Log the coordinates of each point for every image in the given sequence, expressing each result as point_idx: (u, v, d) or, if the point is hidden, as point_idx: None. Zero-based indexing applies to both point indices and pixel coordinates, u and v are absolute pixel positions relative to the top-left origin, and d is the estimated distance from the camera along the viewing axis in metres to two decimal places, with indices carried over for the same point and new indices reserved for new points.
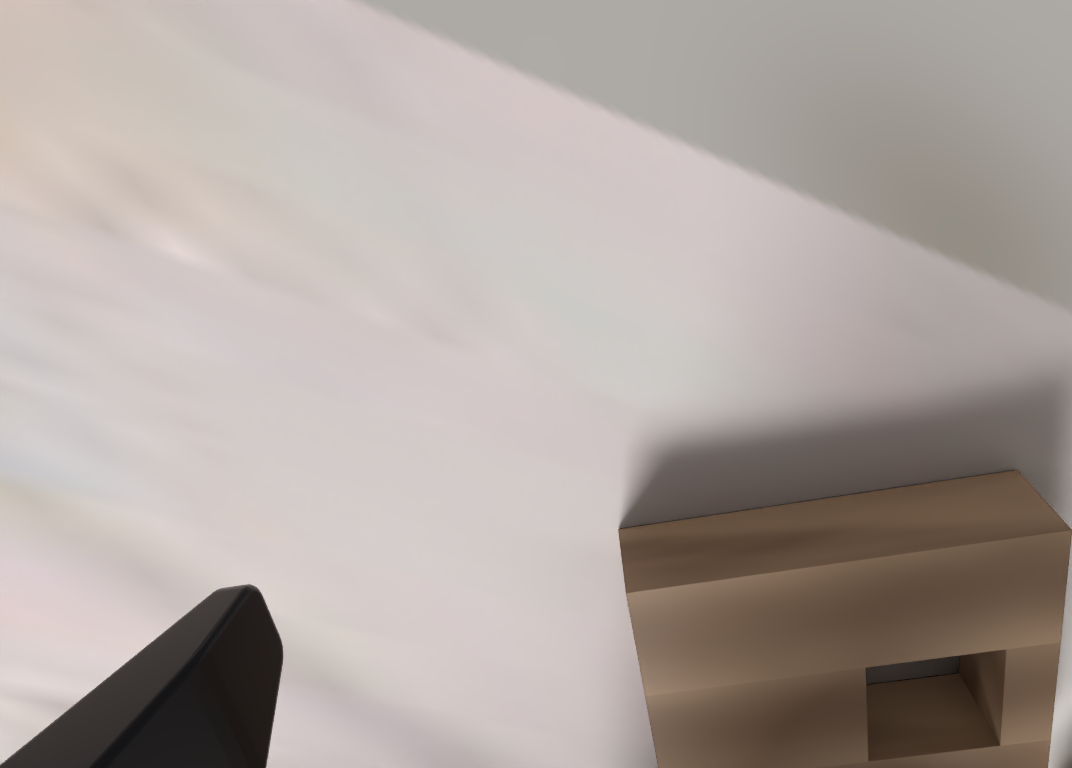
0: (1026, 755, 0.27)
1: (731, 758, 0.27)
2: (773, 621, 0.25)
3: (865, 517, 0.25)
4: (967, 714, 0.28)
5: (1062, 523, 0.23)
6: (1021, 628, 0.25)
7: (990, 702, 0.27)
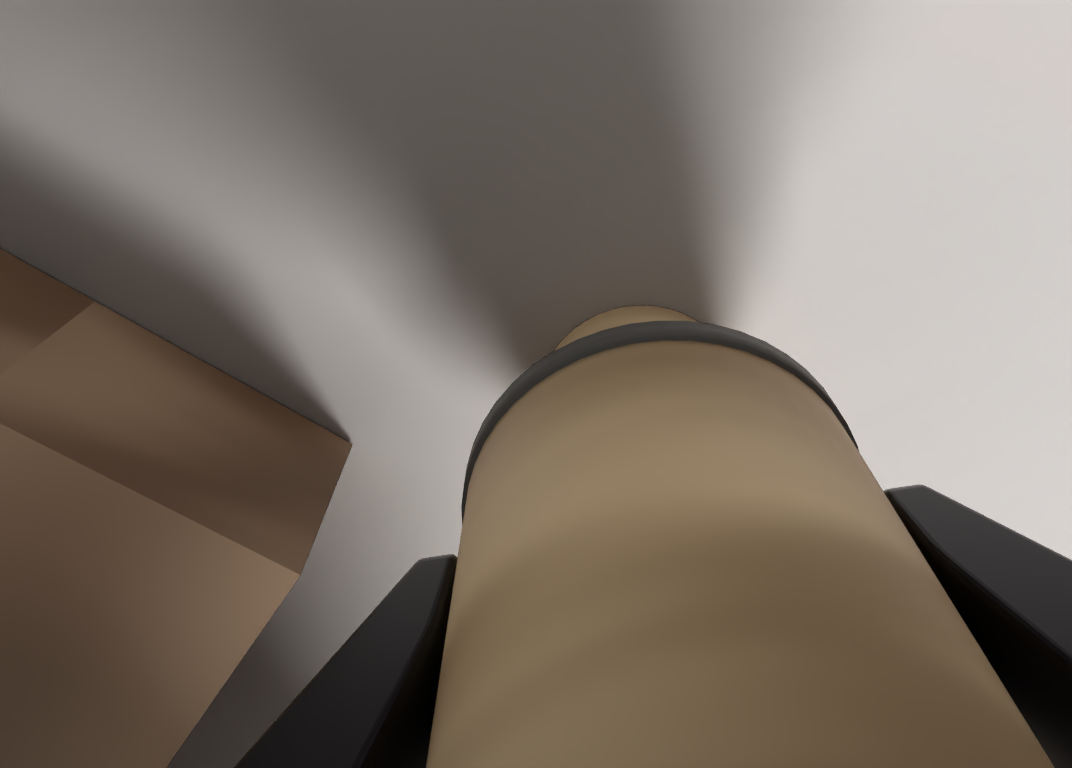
0: None
1: None
2: None
3: None
4: None
5: None
6: None
7: None
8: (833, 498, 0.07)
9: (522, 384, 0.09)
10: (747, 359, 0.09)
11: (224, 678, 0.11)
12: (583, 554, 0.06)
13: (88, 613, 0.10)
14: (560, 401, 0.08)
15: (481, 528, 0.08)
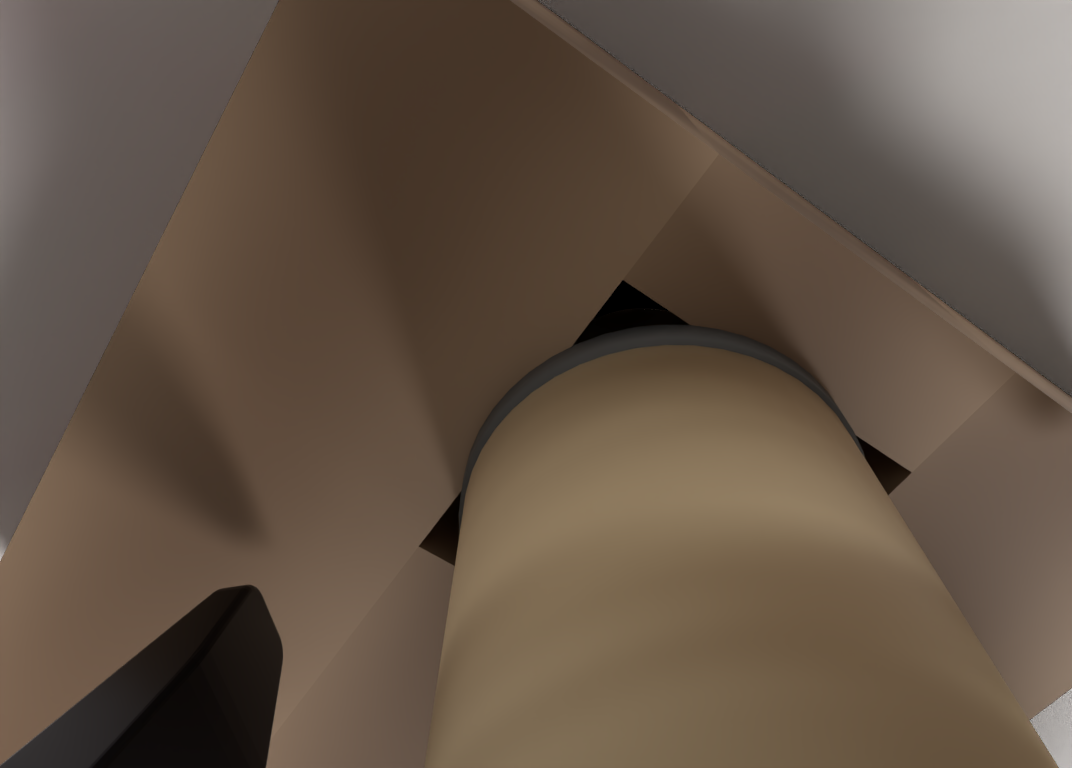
0: (1006, 445, 0.09)
1: None
2: (154, 599, 0.11)
3: None
4: None
5: None
6: (586, 208, 0.08)
7: None
8: (841, 510, 0.06)
9: (520, 390, 0.09)
10: (751, 364, 0.08)
11: None
12: (584, 569, 0.06)
13: (1013, 587, 0.10)
14: (559, 408, 0.08)
15: (478, 539, 0.07)
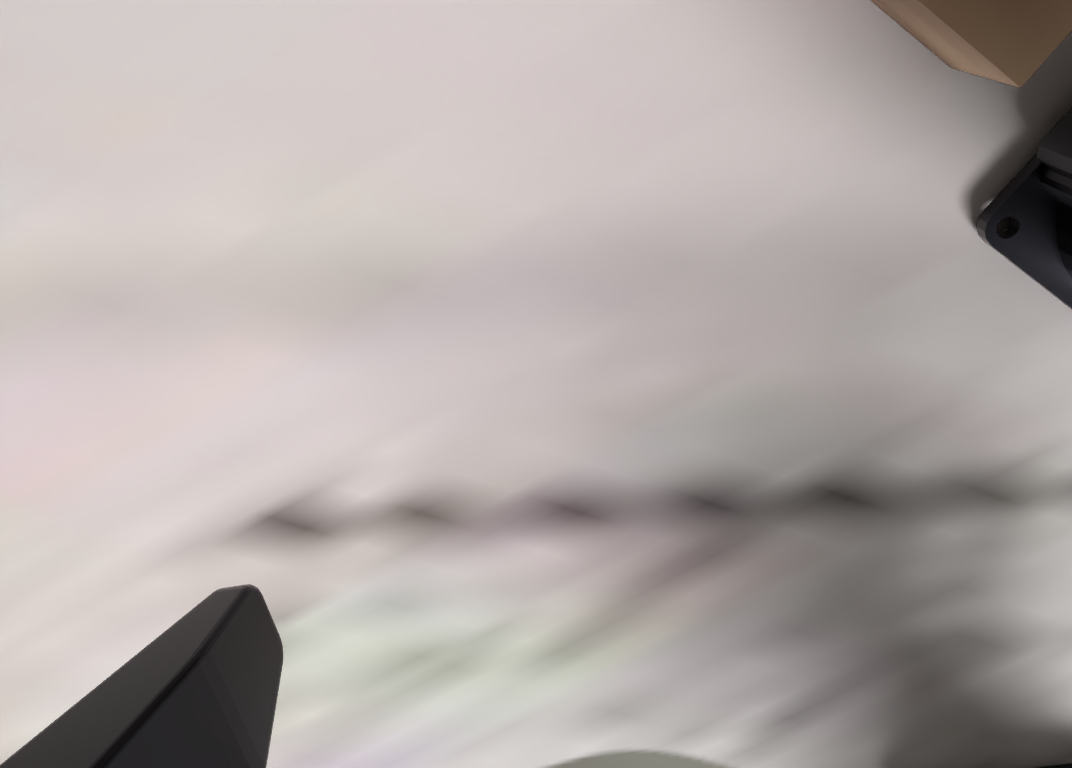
0: None
1: None
2: None
3: None
4: None
5: None
6: None
7: None
8: None
9: None
10: None
11: None
12: None
13: None
14: None
15: None
